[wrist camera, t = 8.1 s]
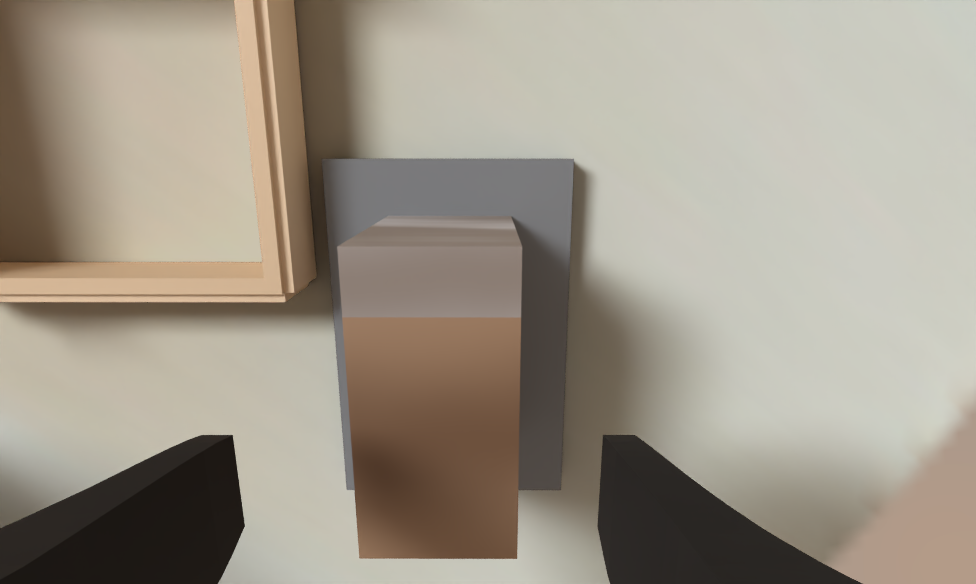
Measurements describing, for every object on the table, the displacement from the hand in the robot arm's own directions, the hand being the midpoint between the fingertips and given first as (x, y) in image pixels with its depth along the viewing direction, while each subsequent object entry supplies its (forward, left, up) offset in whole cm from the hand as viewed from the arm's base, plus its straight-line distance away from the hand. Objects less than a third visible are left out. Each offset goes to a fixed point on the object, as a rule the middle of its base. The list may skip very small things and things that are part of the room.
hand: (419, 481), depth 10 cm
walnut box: (0, 0, -8) cm, 8 cm away
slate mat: (0, 0, -9) cm, 9 cm away
